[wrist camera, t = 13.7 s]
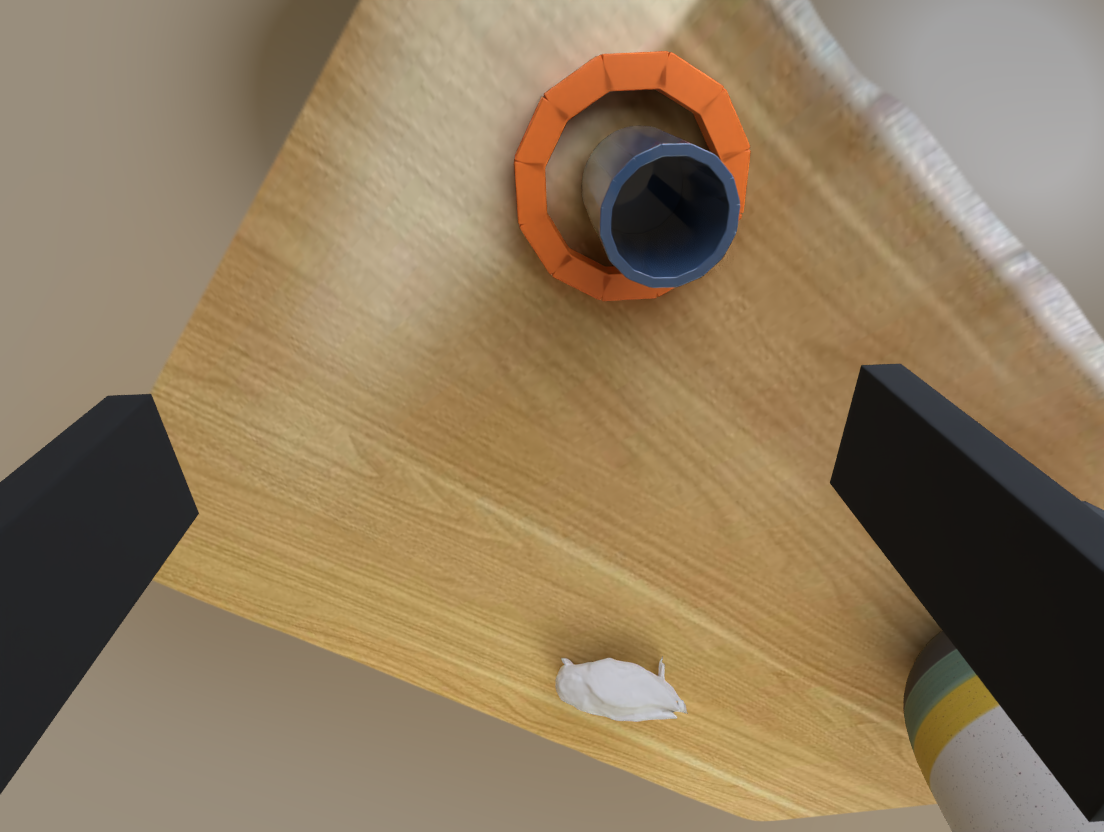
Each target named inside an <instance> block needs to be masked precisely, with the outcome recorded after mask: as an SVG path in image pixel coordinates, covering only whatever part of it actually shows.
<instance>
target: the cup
mask: <svg viewBox="0 0 1104 832" xmlns="http://www.w3.org/2000/svg"><path fill="white" fill-rule="evenodd" d="M582 199H583V202H584V205H585V208H586V210H587V213H588V215H589V218H590V220H591V222H592V225H593V227H594V229H595V231H596V233H597V235H598V238H599V240H600V242H601V244H602V246H603V248H604V251H605V253H606V255H607V257H608V259H609V261H610V262H611V263H612V264H613V265H614V266H615V267H616V268H617V269H618V270H619V271H620V272H621V273H622V274H623V275H624V276H625V277H626V278H628V279H629V280H631V281H634V282H636V283H639V284H642V285H644V286H647V287H649V288H674V287H679V286H682V285H684V284H686V283H689V282H691V281H694V280H696V279H698V278H701V277H702V276H704V275H705V274H706V273H707V272H708V271H709V270H710V269H711V268H712V267H714V266H715V265H716V264H717V263H718V262H719V261H720V260H721V259H722V257H724V255H725V253H726V251H727V250H728V248H729V246H730V244H731V242H732V240H733V238H734V236H735V235H736V232H737V227H738V220H739V213H740V199H739V195H738V191H737V187H736V183H735V179H734V177H733V175H732V174H731V172H730V171H729V170H728V169H727V167H726V166H725V165H724V164H723V162H722V161H721V160H720V159H719V158H718V156H716V155H715V154H714V153H711V152H709V151H707V150H705V149H703V148H700V147H698V146H696V145H694V144H692V143H689V142H687V141H685V140H683V139H680V138H678V137H676V136H673V135H671V134H669V133H666V132H664V131H662V130H659V129H657V128H655V127H651V126H640V125H638V126H629V127H625V128H622V129H620V130H617V131H615V132H613V133H612V134H610V135H608V136H607V137H606V138H604V139H603V140H602V141H601V142H600V143H599V144H598V145H597V147H596V148H595V149H594V150H593V152H592V153H591V155H590V157H589V159H588V161H587V163H586V165H585V169H584V172H583V177H582Z"/></svg>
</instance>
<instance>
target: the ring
mask: <svg viewBox="0 0 1104 832" xmlns="http://www.w3.org/2000/svg"><path fill="white" fill-rule="evenodd" d="M723 88H724V87H723V86H722V85H721V84H719V83H718V82H716V81H715V80H713V79H712V78H710V77H709V76H707V75H706V74H704V73H702V72H701V71H699V70H698V69H696V68H695V67H693V66H692V65H690V64H689V63H687V62H686V61H684V60H683V59H681V58H680V57H678V56H676V55H675V54H673V53H672V52H669V53H668V51H660V52H639V53H617V54H602V55H599V56H596V57H594V58H593V59H591V60H590V61H589V62H587V63H586V64H584V65H583V66H582V67H580V68H579V69H578V70H576V71H575V72H573V73H572V74H571V75H569V76H568V77H566V78H565V79H564V80H562V81H561V82H560V83H558V84H557V85H555V86H554V87H553V88H551V89H550V90H549V91H547V92H546V93H544V96H545V98H544V97H541V99H540V101H539V103H538V106H537V108H536V110H535V112H534V114H533V117H532V119H531V121H530V123H529V125H528V127H527V130H526V132H525V134H524V136H523V138H522V141H521V143H520V145H519V147H518V149H517V152H516V154H515V159H514V169H515V184H516V199H517V214H518V224H520V229H521V231H522V232H523V234H524V235H525V237H526V238H527V240H528V242H529V243H530V245H531V246H532V248H533V249H534V251H535V252H536V254H537V255H538V257H539V258H540V260H541V262H542V263H543V265H544V266H545V268H546V269H547V271H548V272H549V274H552V276H553V277H554V278H556V279H558V280H560V281H562V282H564V283H566V284H568V285H570V286H572V287H574V288H576V289H578V290H580V291H582V292H584V293H586V294H588V295H590V296H592V297H594V298H596V299H598V300H600V299H601V298H602V301H614V300H632V299H650V298H656V297H657V296H658V297H660V296H661V295H663V294H665V293H666V292H668V291H670V290H671V289H673V288H649V287H647V286H644V285H642V284H639V283H636V282H634V281H631V280H629V279H628V278H626V277H625V276H624V275H623V274H622V273H621V272H620V271H619V270H618V269H617V268H616V267H615V266H607V267H605V266H603V265H601V264H599V263H597V262H595V261H593V260H591V259H590V258H588V257H586V256H584V255H582V254H580V253H578V252H576V251H574V250H572V249H570V248H569V247H568V245H567V244H566V242H565V240H564V239H563V237H562V236H561V234H560V232H559V231H558V229H557V228H556V226H555V224H554V223H553V221H552V219H551V218H550V216H549V215H548V213H547V201H546V177H545V167H546V165H547V163H548V161H549V159H550V156H551V154H552V152H553V150H554V148H555V146H556V144H557V142H558V140H559V138H560V136H561V134H562V132H563V129H564V127H565V125H566V123H567V121H568V120H570V119H571V118H573V117H574V116H576V115H577V114H578V113H580V112H581V111H583V110H584V109H586V108H587V107H588V106H590V105H591V104H593V103H594V102H595V101H597V100H598V99H600V98H601V97H603V96H604V95H605V94H607V93H608V92H610V91H631V90H652V89H655V90H657V91H659V92H660V93H662V94H663V95H665V96H667V97H668V98H670V99H671V100H673V101H675V102H676V103H678V104H679V105H681V106H682V107H684V108H686V109H687V110H689V111H690V112H692V113H693V115H694V117H695V119H696V121H697V124H698V126H699V128H700V130H701V132H702V135H703V137H704V139H705V141H706V143H707V146H708V148H709V150H710V152H711V153H714V154H715V155H716V156H718V158H719V159H720V160H721V161H722V162H723V164H724V165H725V166H726V167H727V169H728V170H729V171H730V172H731V174H732V175H733V177H734V179H735V183H736V187H737V191H738V195H739V199H740V213H743V212H744V204H745V195H746V187H747V178H748V169H749V161H750V152H751V151H750V150H748V149H749V148H750V145H749V143H748V140H747V138H746V135H745V133H744V131H743V128H742V126H741V124H740V121H739V119H738V116H737V114H736V112H735V109H734V107H733V105H732V102H731V100H730V97H729V95H728V93H727V90H726V89H723ZM740 213H739V220H740V218H741V217H742V215H741V214H740ZM739 220H738V221H739ZM674 288H675V287H674Z"/></svg>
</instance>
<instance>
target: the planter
mask: <svg viewBox="0 0 1104 832" xmlns="http://www.w3.org/2000/svg"><path fill="white" fill-rule="evenodd" d="M903 709H904V718H905V724H906V728H907V732H908V736H909V740H910V743H911V746H912V749H913V752H914V754H915V757H916V760H917V763H918V765H919V767H920V769H921V771H922V774H923V776H924V778H925V780H926V782H927V784H928V786H929V788H930V790H931V792H932V794H933V796H934V798H935V800H936V802H937V803H938V805H939V807H940V809H941V811H942V813H943V815H944V817H945V819H946V821H947V823H948V825H949V826H950V828H951V830H952V832H1104V821H1099V822H1088V820H1087V819H1086V818H1085V816H1084V815H1083V814H1082V812H1081V811H1080V810H1079V809H1078V807H1077V806H1076V805H1075V803H1074V802H1073V801H1072V799H1071V798H1070V797H1069V795H1068V794H1067V793H1066V791H1065V790H1064V789H1063V788H1062V786H1061V785H1060V784H1059V782H1058V781H1057V780H1056V778H1055V777H1054V776H1053V774H1052V773H1051V772H1050V771H1049V769H1048V768H1047V767H1046V765H1045V764H1044V763H1043V761H1042V760H1041V759H1040V757H1039V756H1038V755H1037V754H1036V752H1035V751H1034V750H1033V748H1032V747H1031V746H1030V744H1029V743H1028V742H1027V740H1026V739H1025V738H1024V737H1023V735H1022V734H1021V733H1020V731H1019V730H1018V729H1017V727H1016V726H1015V725H1014V723H1013V722H1012V721H1011V719H1010V718H1009V717H1008V716H1007V714H1006V713H1005V712H1004V710H1003V709H1002V708H1001V706H1000V705H999V704H998V702H997V701H996V700H995V699H994V697H993V696H992V695H991V693H990V692H989V691H988V689H987V688H986V687H985V685H984V684H983V683H982V682H981V680H980V679H979V678H978V676H977V675H976V674H975V672H974V671H973V670H972V668H971V667H970V666H969V664H968V663H967V662H966V661H965V659H964V658H963V657H962V655H961V654H960V653H959V651H958V650H957V649H956V647H955V646H954V645H953V644H952V642H951V641H950V640H949V638H948V637H947V636H946V634H945V633H944V632H943V631H941V632H940V633H939V634H937V635H936V636H935V637H934V638H933V639H932V640H931V641H930V642H929V643H928V644H927V645H926V646H925V647H924V648H923V650H922V651H921V653H920V654H919V655H918V657H917V659H916V660H915V662H914V664H913V666H912V668H911V671H910V673H909V676H908V679H907V682H906V687H905V693H904V707H903Z"/></svg>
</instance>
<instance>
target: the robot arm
mask: <svg viewBox="0 0 1104 832" xmlns="http://www.w3.org/2000/svg"><path fill="white" fill-rule="evenodd" d="M830 484H831V485H832V486H833V488H834V489H835V490H836V492H837V493H838V494H839V496H840V497H841V498H842V500H843V501H844V502H845V503H846V505H847V506H848V507H849V509H850V510H851V511H852V513H853V514H854V515H855V517H856V518H857V519H858V520H859V522H860V523H861V524H862V526H863V527H864V528H865V530H866V531H867V532H868V534H869V535H870V536H871V538H872V539H873V540H874V541H875V543H876V544H877V545H878V547H879V548H880V549H881V551H882V552H883V553H884V555H885V556H886V557H887V558H888V560H889V561H890V562H891V564H892V565H893V566H894V568H895V569H896V570H897V572H898V573H899V574H900V575H901V577H902V578H903V579H904V581H905V582H906V583H907V585H908V586H909V587H910V589H911V590H912V591H913V592H914V594H915V595H916V596H917V598H918V599H919V600H920V602H921V603H922V604H923V606H924V607H925V608H926V610H927V611H928V612H929V613H930V615H931V616H932V617H933V619H934V620H935V621H936V623H937V624H938V625H939V627H940V628H941V629H942V630H943V632H944V633H945V634H946V636H947V637H948V638H949V640H950V641H951V642H952V644H953V645H954V646H955V647H956V649H957V650H958V651H959V653H960V654H961V655H962V657H963V658H964V659H965V661H966V662H967V663H968V664H969V666H970V667H971V668H972V670H973V671H974V672H975V674H976V675H977V676H978V678H979V679H980V680H981V682H982V683H983V684H984V685H985V687H986V688H987V689H988V691H989V692H990V693H991V695H992V696H993V697H994V699H995V700H996V701H997V702H998V704H999V705H1000V706H1001V708H1002V709H1003V710H1004V712H1005V713H1006V714H1007V716H1008V717H1009V718H1010V719H1011V721H1012V722H1013V723H1014V725H1015V726H1016V727H1017V729H1018V730H1019V731H1020V733H1021V734H1022V735H1023V737H1024V738H1025V739H1026V740H1027V742H1028V743H1029V744H1030V746H1031V747H1032V748H1033V750H1034V751H1035V752H1036V754H1037V755H1038V756H1039V757H1040V759H1041V760H1042V761H1043V763H1044V764H1045V765H1046V767H1047V768H1048V769H1049V771H1050V772H1051V773H1052V774H1053V776H1054V777H1055V778H1056V780H1057V781H1058V782H1059V784H1060V785H1061V786H1062V788H1063V789H1064V790H1065V791H1066V793H1067V794H1068V795H1069V797H1070V798H1071V799H1072V801H1073V802H1074V803H1075V805H1076V806H1077V807H1078V809H1079V810H1080V811H1081V812H1082V814H1083V815H1084V816H1085V818H1086V819H1087V820H1088V822H1099V821H1104V510H1102V509H1100V508H1098V507H1096V506H1094V505H1092V504H1090V503H1088V502H1086V501H1080V500H1079V499H1078V498H1076V497H1075V496H1074V495H1072V494H1071V493H1070V492H1068V491H1067V490H1066V489H1064V488H1063V487H1062V486H1060V485H1059V484H1058V483H1057V482H1055V481H1054V480H1053V479H1051V478H1050V477H1049V476H1047V475H1046V474H1045V473H1043V472H1042V471H1041V470H1039V469H1038V468H1037V467H1036V466H1034V465H1033V464H1032V463H1030V462H1029V461H1028V460H1026V459H1025V458H1024V457H1022V456H1021V455H1020V454H1018V453H1017V452H1016V451H1015V450H1013V449H1012V448H1011V447H1009V446H1008V445H1007V444H1005V443H1004V442H1003V441H1001V440H1000V439H999V438H997V437H996V436H995V435H994V434H992V433H991V432H990V431H988V430H987V429H986V428H984V427H983V426H982V425H980V424H979V423H978V422H976V421H975V420H974V419H973V418H971V417H970V416H969V415H967V414H966V413H965V412H963V411H962V410H961V409H959V408H958V407H957V406H955V405H954V404H953V403H952V402H950V401H949V400H948V399H946V398H945V397H944V396H942V395H941V394H940V393H938V392H937V391H936V390H934V389H933V388H932V387H931V386H929V385H928V384H927V383H925V382H924V381H923V380H921V379H920V378H919V377H917V376H916V375H915V374H913V373H912V372H911V371H910V370H908V369H907V368H906V367H904V366H903V365H902V364H882V365H861V368H860V372H859V376H858V379H857V383H856V387H855V391H854V394H853V398H852V402H851V406H850V409H849V413H848V417H847V421H846V424H845V428H844V432H843V436H842V439H841V443H840V447H839V451H838V454H837V458H836V462H835V466H834V469H833V473H832V477H831V481H830ZM198 514H199V512H198V510H197V507H196V505H195V502H194V500H193V497H192V495H191V492H190V490H189V487H188V485H187V482H186V480H185V477H184V475H183V472H182V470H181V467H180V465H179V462H178V460H177V457H176V455H175V452H174V450H173V447H172V445H171V442H170V440H169V437H168V435H167V432H166V430H165V427H164V425H163V422H162V420H161V417H160V415H159V412H158V410H157V407H156V405H155V402H154V400H153V397H152V395H151V394H142V395H140V394H139V395H117V396H116V395H115V396H107V397H106V398H104V399H103V400H102V401H101V402H99V403H98V404H97V405H96V406H94V407H93V408H92V409H91V410H89V411H88V412H87V413H86V414H84V415H83V416H82V417H81V418H79V419H78V420H77V421H76V422H75V423H73V424H72V425H71V426H70V427H68V428H67V429H66V430H65V431H63V432H62V433H61V434H60V435H58V436H57V437H56V438H55V439H53V440H52V441H51V442H50V443H48V444H47V445H46V446H45V447H43V448H42V449H41V450H40V451H39V452H37V453H36V454H35V455H34V456H33V457H31V458H30V459H29V460H27V461H26V462H25V463H24V464H23V465H21V466H20V467H19V468H17V469H16V470H15V471H14V472H12V473H11V474H10V475H9V476H8V477H6V478H5V479H4V480H3V481H1V482H0V794H1V793H2V791H3V790H4V788H5V787H6V786H7V784H8V782H9V781H10V780H11V779H12V777H13V776H14V774H15V773H16V771H17V770H18V769H19V767H20V766H21V764H22V763H23V761H24V760H25V759H26V757H27V756H28V755H29V753H30V752H31V750H32V749H33V747H34V746H35V745H36V743H37V742H38V740H39V739H40V738H41V736H42V735H43V733H44V732H45V730H46V729H47V728H48V726H49V725H50V723H51V722H52V721H53V719H54V718H55V716H56V715H57V713H58V712H59V711H60V709H61V708H62V706H63V705H64V703H65V702H66V701H67V699H68V698H69V696H70V695H71V694H72V692H73V691H74V689H75V688H76V687H77V685H78V684H79V682H80V681H81V680H82V678H83V677H84V675H85V674H86V672H87V671H88V670H89V668H90V667H91V665H92V664H93V663H94V661H95V660H96V658H97V657H98V655H99V654H100V653H101V651H102V650H103V648H104V647H105V645H106V644H107V643H108V641H109V640H110V638H111V637H112V636H113V634H114V633H115V631H116V630H117V628H118V627H119V625H120V624H121V623H122V621H123V620H124V619H125V617H126V616H127V614H128V613H129V612H130V610H131V609H132V607H133V606H134V604H135V603H136V602H137V600H138V599H139V597H140V596H141V595H142V593H143V592H144V590H145V589H146V588H147V586H148V585H149V583H150V582H151V581H152V579H153V578H154V576H155V575H156V573H157V572H158V571H159V569H160V568H161V566H162V565H163V564H164V562H165V561H166V559H167V558H168V556H169V555H170V554H171V552H172V551H173V549H174V548H175V547H176V545H177V544H178V542H179V541H180V539H181V538H182V537H183V535H184V534H185V532H186V531H187V530H188V528H189V527H190V525H191V524H192V522H193V521H194V520H195V518H196V517H197V515H198Z"/></svg>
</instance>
